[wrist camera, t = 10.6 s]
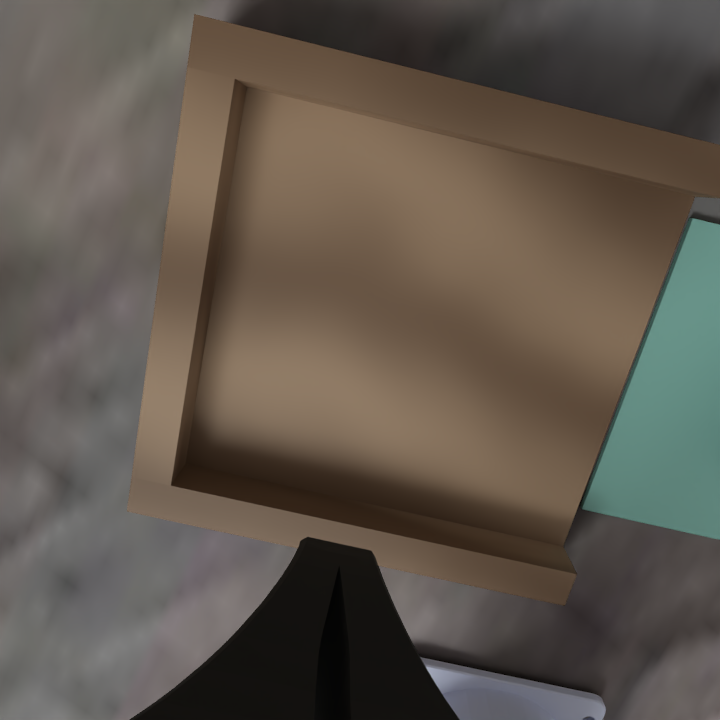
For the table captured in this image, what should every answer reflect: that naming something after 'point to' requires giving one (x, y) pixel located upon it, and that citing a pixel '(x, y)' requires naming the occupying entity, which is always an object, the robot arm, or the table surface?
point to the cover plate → (671, 405)
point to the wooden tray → (397, 307)
